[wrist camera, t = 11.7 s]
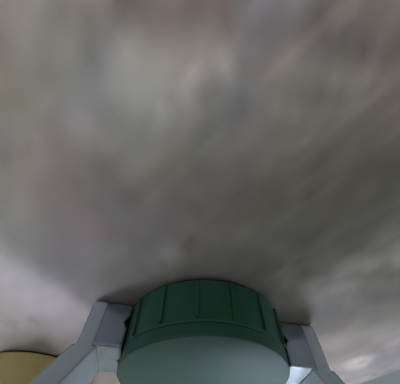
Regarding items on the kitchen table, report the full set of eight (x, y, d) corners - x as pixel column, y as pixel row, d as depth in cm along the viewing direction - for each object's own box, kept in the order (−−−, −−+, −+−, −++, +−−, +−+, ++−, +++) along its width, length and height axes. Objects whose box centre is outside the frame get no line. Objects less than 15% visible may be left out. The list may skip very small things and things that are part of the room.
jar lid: (224, 370, 12) (228, 419, 11) (109, 339, 11) (93, 392, 9) (308, 309, 9) (330, 365, 8) (169, 256, 8) (161, 312, 6)
